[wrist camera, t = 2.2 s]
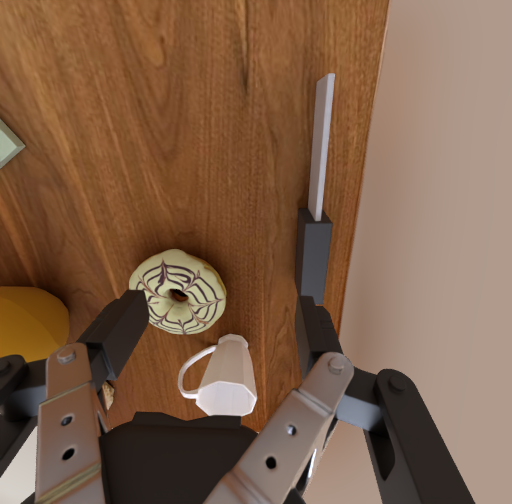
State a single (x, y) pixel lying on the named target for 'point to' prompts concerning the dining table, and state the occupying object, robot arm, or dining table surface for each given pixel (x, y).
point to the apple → (31, 322)
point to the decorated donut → (188, 281)
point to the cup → (224, 378)
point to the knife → (316, 204)
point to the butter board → (8, 144)
